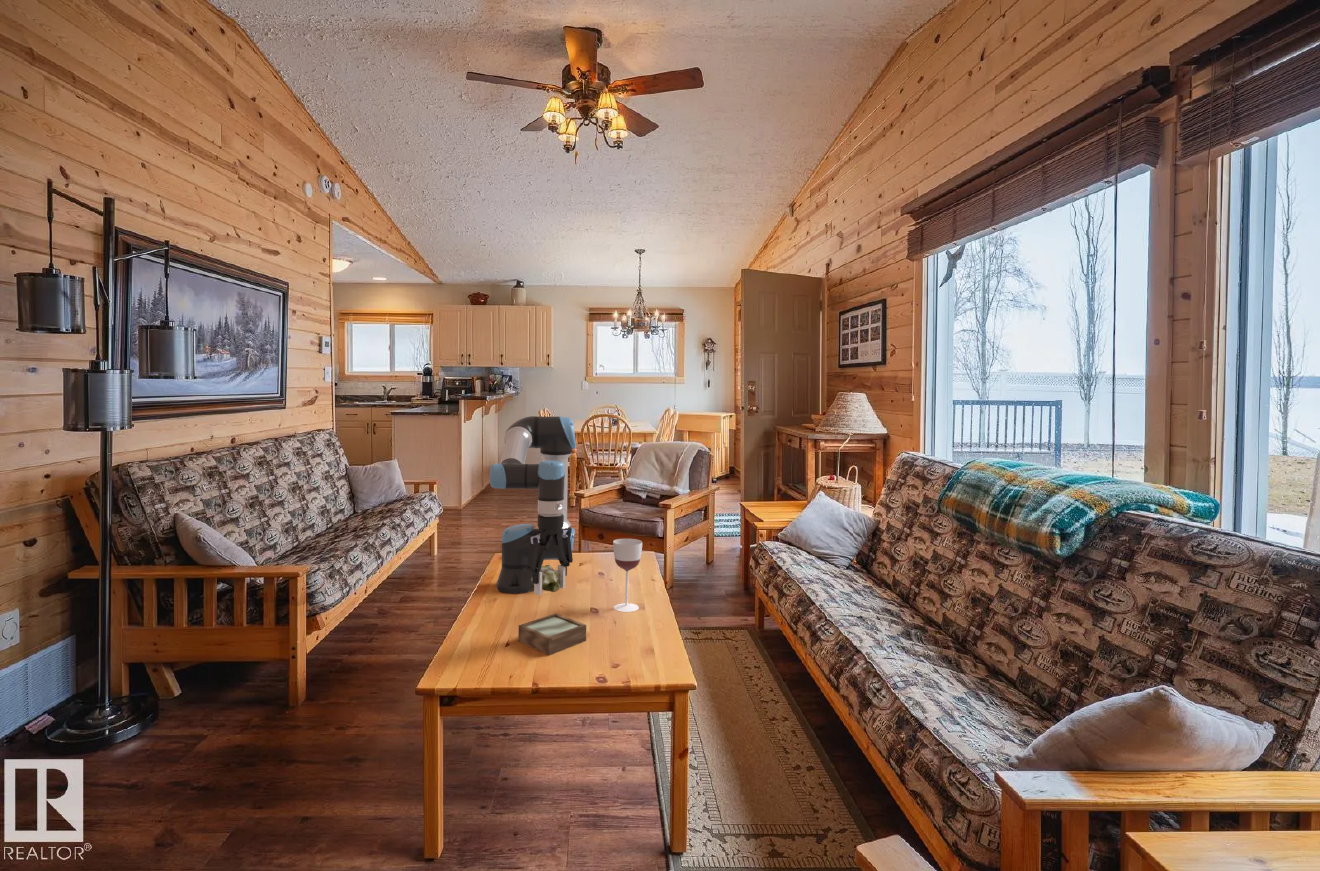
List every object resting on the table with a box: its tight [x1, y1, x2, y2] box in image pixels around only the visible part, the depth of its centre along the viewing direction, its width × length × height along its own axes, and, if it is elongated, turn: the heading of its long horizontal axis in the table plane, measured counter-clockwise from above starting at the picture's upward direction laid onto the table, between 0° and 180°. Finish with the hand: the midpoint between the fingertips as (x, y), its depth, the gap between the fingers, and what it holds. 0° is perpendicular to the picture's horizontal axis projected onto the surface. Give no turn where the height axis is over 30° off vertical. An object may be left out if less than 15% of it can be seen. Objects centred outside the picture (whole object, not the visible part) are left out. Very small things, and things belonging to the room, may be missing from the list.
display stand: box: [517, 612, 587, 656], centre depth 179 cm, size 14×14×5 cm
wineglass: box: [612, 538, 643, 613], centre depth 209 cm, size 9×10×23 cm
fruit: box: [527, 564, 561, 593], centre depth 179 cm, size 9×9×8 cm
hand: (549, 590), depth 178 cm, fingers closed on fruit, 8 cm apart
